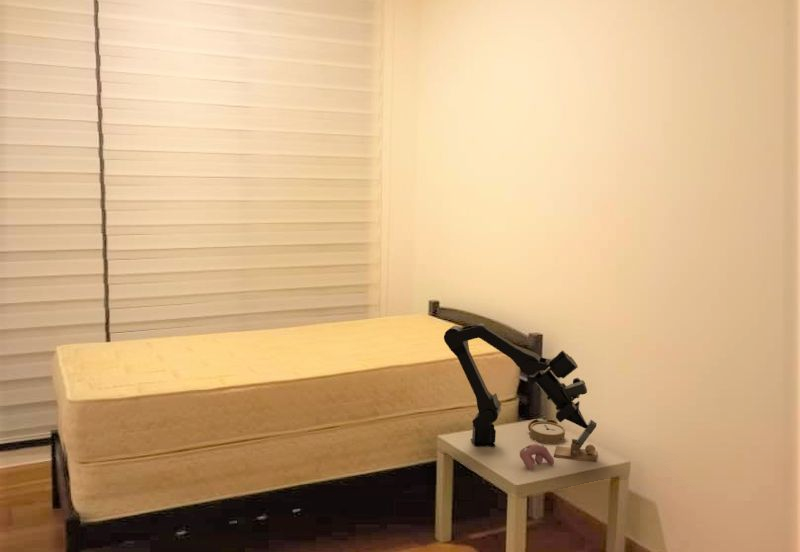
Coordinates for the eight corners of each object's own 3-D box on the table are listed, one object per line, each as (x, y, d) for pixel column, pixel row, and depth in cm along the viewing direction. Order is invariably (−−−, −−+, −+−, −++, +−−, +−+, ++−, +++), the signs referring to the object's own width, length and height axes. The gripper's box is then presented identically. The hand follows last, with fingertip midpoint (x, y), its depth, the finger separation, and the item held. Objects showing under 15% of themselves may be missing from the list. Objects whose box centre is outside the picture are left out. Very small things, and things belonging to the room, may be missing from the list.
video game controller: (546, 466, 223) (539, 443, 225) (556, 464, 219) (549, 440, 221) (521, 472, 218) (515, 448, 219) (531, 470, 214) (525, 445, 216)
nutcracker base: (553, 456, 227) (554, 443, 226) (556, 448, 234) (556, 436, 234) (596, 462, 223) (597, 449, 223) (597, 453, 231) (597, 440, 230)
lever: (571, 449, 227) (590, 422, 225) (571, 446, 230) (591, 419, 228) (576, 453, 227) (596, 426, 225) (577, 450, 230) (596, 423, 228)
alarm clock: (535, 435, 238) (524, 413, 252) (534, 449, 239) (523, 426, 254) (569, 435, 239) (556, 413, 253) (568, 449, 240) (555, 426, 255)
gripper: (570, 378, 218) (606, 420, 216) (574, 365, 235) (607, 403, 234) (541, 401, 221) (576, 442, 219) (547, 386, 239) (580, 424, 237)
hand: (586, 427), depth 227 cm, fingers closed, pressing on lever
